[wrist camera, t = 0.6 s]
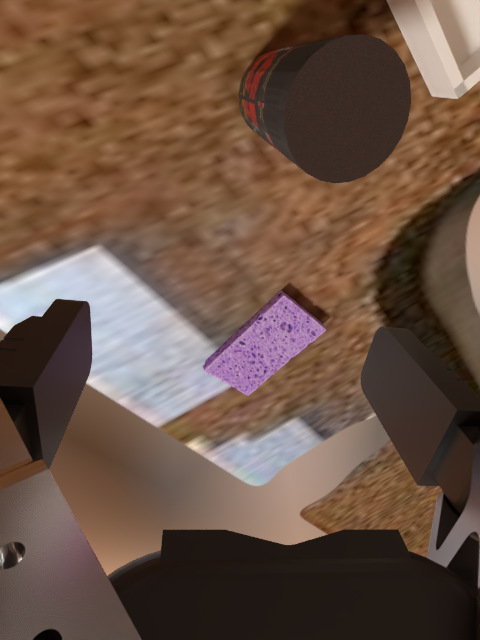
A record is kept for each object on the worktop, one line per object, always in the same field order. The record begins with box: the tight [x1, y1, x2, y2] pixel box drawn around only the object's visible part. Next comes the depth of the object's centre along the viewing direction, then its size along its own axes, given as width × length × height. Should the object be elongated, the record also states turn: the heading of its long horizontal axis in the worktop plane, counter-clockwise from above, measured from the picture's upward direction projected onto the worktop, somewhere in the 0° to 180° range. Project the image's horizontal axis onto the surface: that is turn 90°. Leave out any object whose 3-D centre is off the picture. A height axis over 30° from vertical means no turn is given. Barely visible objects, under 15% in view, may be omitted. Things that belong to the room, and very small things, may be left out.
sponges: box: [203, 291, 326, 396], centre depth 43 cm, size 7×13×2 cm, turn 136°
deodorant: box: [239, 34, 411, 183], centre depth 24 cm, size 6×6×15 cm
